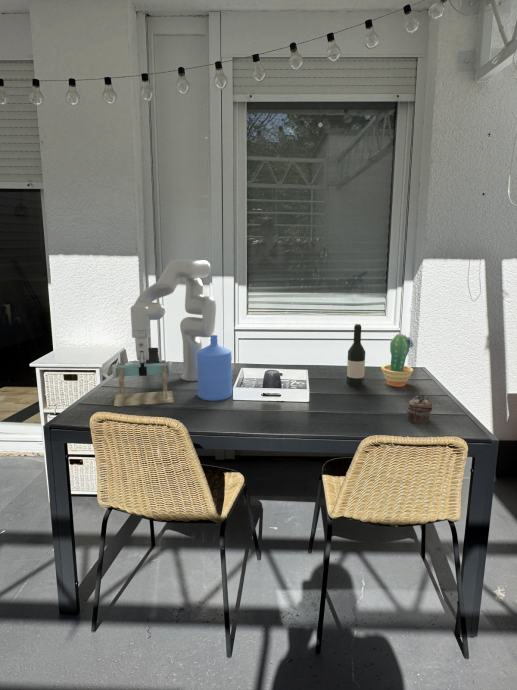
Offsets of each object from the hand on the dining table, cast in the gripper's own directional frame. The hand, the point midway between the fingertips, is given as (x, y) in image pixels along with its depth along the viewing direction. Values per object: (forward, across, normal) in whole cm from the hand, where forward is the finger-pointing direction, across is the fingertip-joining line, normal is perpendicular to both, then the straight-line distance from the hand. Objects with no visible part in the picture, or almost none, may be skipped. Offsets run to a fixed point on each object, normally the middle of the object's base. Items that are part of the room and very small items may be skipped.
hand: (143, 373), depth 215 cm
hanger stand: (+12, 0, 0) cm, 12 cm away
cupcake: (+12, -48, -106) cm, 117 cm away
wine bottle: (+12, +2, -102) cm, 102 cm away
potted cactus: (+12, -2, -122) cm, 122 cm away
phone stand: (+12, +52, -4) cm, 54 cm away
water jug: (+12, -1, -32) cm, 34 cm away
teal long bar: (+1, 0, 0) cm, 1 cm away
